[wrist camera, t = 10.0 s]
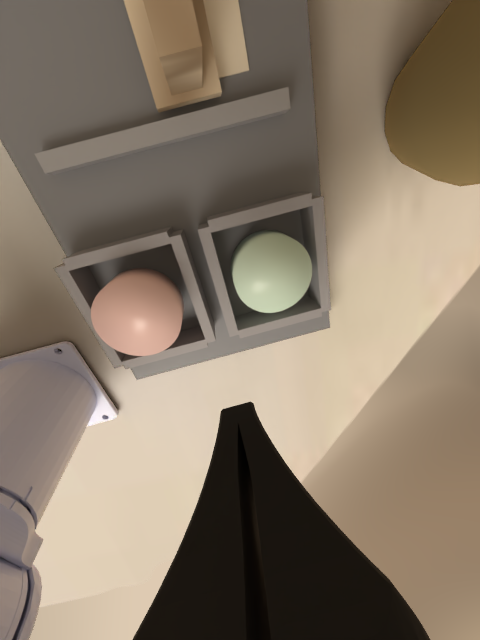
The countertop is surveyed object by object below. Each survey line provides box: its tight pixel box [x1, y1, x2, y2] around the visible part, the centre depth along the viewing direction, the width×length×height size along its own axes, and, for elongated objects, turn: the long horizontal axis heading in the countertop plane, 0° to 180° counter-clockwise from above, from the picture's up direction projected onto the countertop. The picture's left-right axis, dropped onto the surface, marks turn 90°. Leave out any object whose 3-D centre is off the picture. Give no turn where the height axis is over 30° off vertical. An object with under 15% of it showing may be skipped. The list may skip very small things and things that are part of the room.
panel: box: [0, 0, 331, 380], centre depth 13 cm, size 15×22×4 cm
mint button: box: [230, 230, 312, 313], centre depth 15 cm, size 4×4×2 cm
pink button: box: [91, 268, 184, 356], centre depth 14 cm, size 4×4×2 cm
